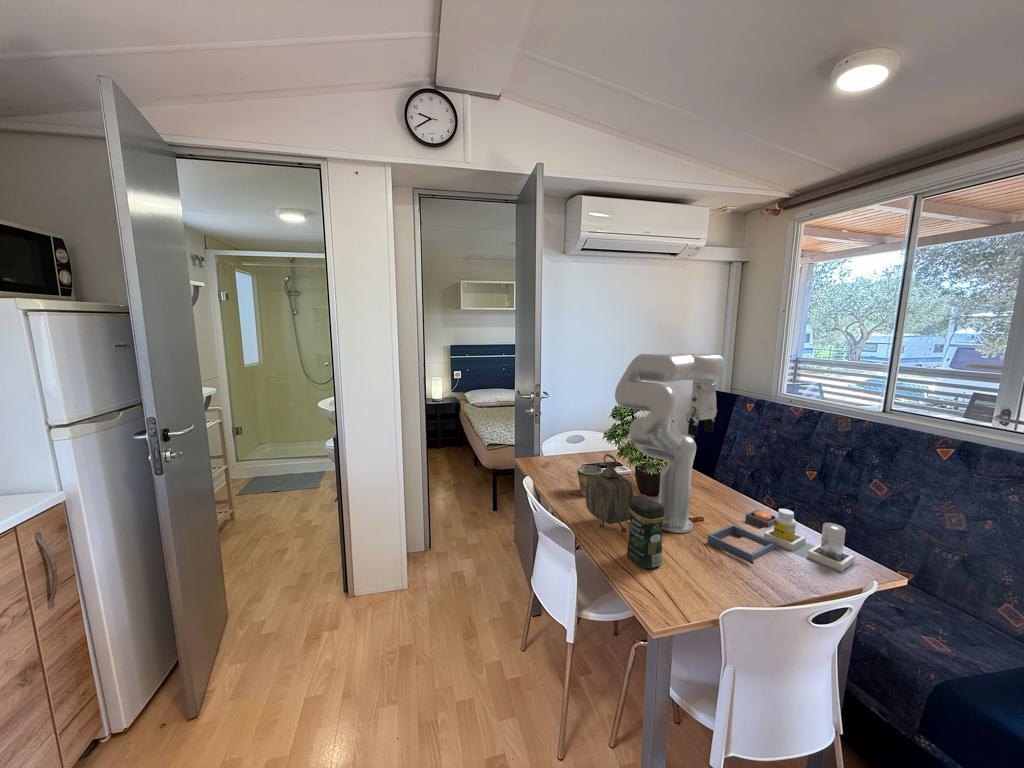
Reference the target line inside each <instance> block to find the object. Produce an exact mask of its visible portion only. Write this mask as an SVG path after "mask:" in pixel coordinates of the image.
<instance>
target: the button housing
mask: <svg viewBox="0 0 1024 768" xmlns="http://www.w3.org/2000/svg"><path fill="white" fill-rule="evenodd" d="M756 511H761V509H760V510H759V509H756V510H753V511H751V512H749V513H746V514H745V519H744V520H745V522H746V523H749V524H752V525H754V526H757V527H759V528H762V529H764V528H770V527H772V526H774V523H775V517H776V516H777V515H774V514H773V515H772V514H770V513H769V514H770V515H771V520H770V521H768V522H767V521H764V520H762V519H759V518H757V517H754V512H756Z"/></svg>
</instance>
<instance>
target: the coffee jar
mask: <svg viewBox="0 0 1024 768" xmlns="http://www.w3.org/2000/svg"><path fill="white" fill-rule="evenodd" d="M629 511H630V520H629V530H628V531H629V532H628V541H627V550H626V554H627V557H629V559H631V560H632V562H633V563H635V564H636V565H638V567H640V568H642V569H650V570H651V569H656V568H659V567H660V566H661V565H662V564H663V543H662V542H663V529H662V525H663V521H664V518H665V510H664V506H663V505H662V504H660V503H659V501H657V500H656V499H654V498H651V497H650V496H647V495H646V494H637V495H633V497H632V498H631V501H630V506H629Z"/></svg>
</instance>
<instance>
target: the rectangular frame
mask: <svg viewBox="0 0 1024 768" xmlns="http://www.w3.org/2000/svg"><path fill="white" fill-rule="evenodd" d="M733 534H734V535H736V536H739V537H741V538H744V537H747V538H749V539H752V540H755V541H757V542H759V543H761V544H764V545H765V546H763V547H762V548H759V549H758V550H756V551H753V552H749V551H746V550H744V549H743V548H740V547H738V546H735V545H733V544H731V543H729V542H727V541H725V540H722V539H723V538H725V537H727V536H729V535H730V536H731V535H733ZM707 543H708V544H710V545H712V546H714V547H716V548H718V549H720V550H722V551H724V552H727V553H729V554H731V555H732V556H735V557H737V558H739V559H741V560H743V561H745V562H747V563H749V564H753V563H755V562H754V560H756V559H758V558H760V557H761V556H763V555H765V554H767V553H769V552H771V551H773V550H775V549H777V546H776V544H777V543H775V542H773V541H771V540H768V539H766V538H763V537H762V536H761V535H758V534H756V533H755V532H754V533H753V532H751V531H749V530H746V529H744V528H742V527H739V526H737V525H734V524H731V525H729V526H727V527H726V526H725V527H724V528H722V529H719V530H716V531H714V532H712V533H710V534H708V535H707Z"/></svg>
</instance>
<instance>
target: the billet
mask: <svg viewBox="0 0 1024 768" xmlns="http://www.w3.org/2000/svg"><path fill="white" fill-rule="evenodd" d="M846 530H847V529H846V528H845V527H844V526H842V525H839V524H837V523H833V522H824V523H822V530H821V540H820V543H821V546H820V555H823V556H825V557H828V558H830V559H833V560H835V561H838V562H841V561H842V556H843V552H844V546H845V540H846V539H845V537H846V532H847V531H846Z"/></svg>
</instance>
